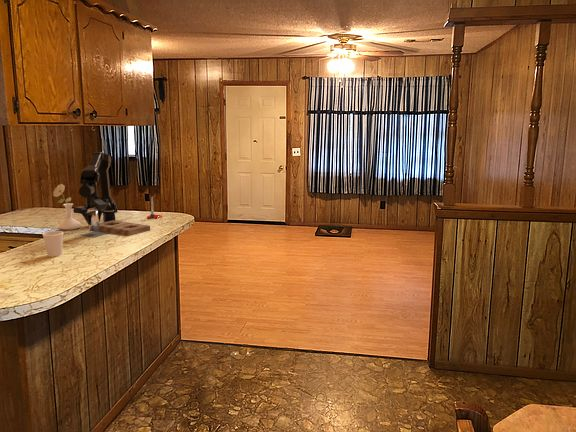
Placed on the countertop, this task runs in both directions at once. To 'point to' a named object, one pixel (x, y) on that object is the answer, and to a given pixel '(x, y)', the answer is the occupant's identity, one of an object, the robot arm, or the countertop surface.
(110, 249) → the countertop surface
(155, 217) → the tow hook
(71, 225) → the flower in vase
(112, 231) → the hole block
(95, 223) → the steel peg
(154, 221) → the countertop surface
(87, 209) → the robot arm
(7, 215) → the countertop surface
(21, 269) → the countertop surface
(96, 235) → the rubber mat
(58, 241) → the dixie cup
